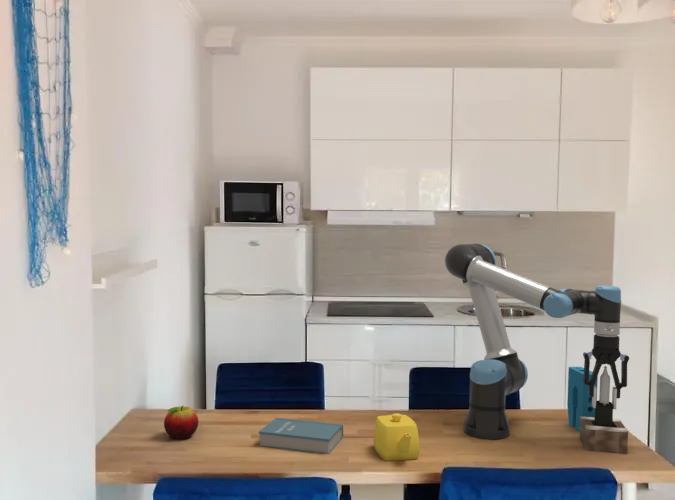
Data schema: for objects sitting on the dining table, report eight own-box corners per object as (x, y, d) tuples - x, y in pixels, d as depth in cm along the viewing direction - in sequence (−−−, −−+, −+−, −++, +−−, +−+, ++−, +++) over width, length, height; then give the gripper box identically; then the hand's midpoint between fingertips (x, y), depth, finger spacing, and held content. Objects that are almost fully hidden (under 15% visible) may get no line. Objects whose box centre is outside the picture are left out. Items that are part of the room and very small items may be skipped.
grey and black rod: (610, 442, 209) (613, 365, 208) (611, 447, 204) (614, 368, 203) (593, 440, 210) (596, 363, 209) (594, 445, 205) (597, 367, 204)
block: (596, 433, 219) (598, 374, 218) (582, 433, 218) (584, 374, 217) (579, 422, 231) (580, 366, 230) (565, 422, 230) (567, 366, 229)
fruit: (205, 436, 209) (205, 405, 208) (175, 444, 201) (176, 412, 200) (185, 428, 216) (186, 399, 216) (157, 436, 208) (157, 405, 208)
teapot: (427, 464, 188) (428, 424, 187) (386, 467, 185) (387, 426, 185) (406, 441, 208) (407, 405, 207) (368, 443, 205) (369, 406, 204)
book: (258, 447, 201) (258, 431, 201) (277, 431, 217) (277, 416, 216) (328, 455, 195) (329, 439, 195) (343, 438, 210) (343, 423, 210)
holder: (585, 450, 202) (586, 427, 202) (579, 437, 214) (580, 416, 214) (627, 453, 200) (628, 430, 200) (619, 440, 212) (619, 419, 211)
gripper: (577, 335, 204) (575, 408, 205) (640, 338, 200) (637, 413, 201) (574, 331, 211) (571, 402, 212) (634, 334, 207) (632, 406, 208)
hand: (603, 407), depth 207 cm, fingers closed on grey and black rod, 5 cm apart
